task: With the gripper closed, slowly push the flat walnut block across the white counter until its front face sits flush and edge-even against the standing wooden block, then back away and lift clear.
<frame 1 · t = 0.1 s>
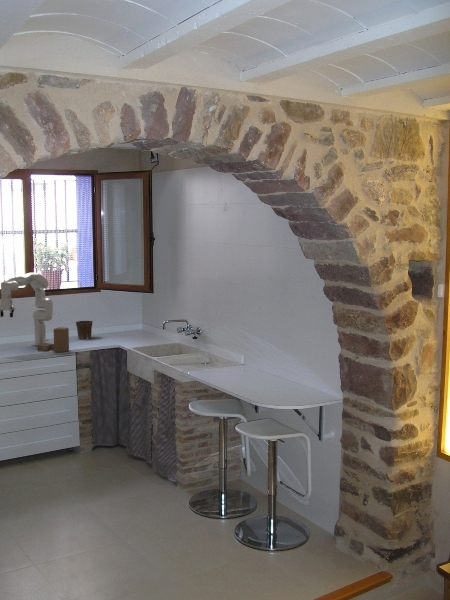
hand: (6, 317, 563), 31 cm above the countertop, tool pointing down, fingers open, 9 cm apart
walnut block: (46, 350, 584), on the countertop
plant pot: (84, 338, 642), on the countertop
wooden block: (61, 351, 579), on the countertop
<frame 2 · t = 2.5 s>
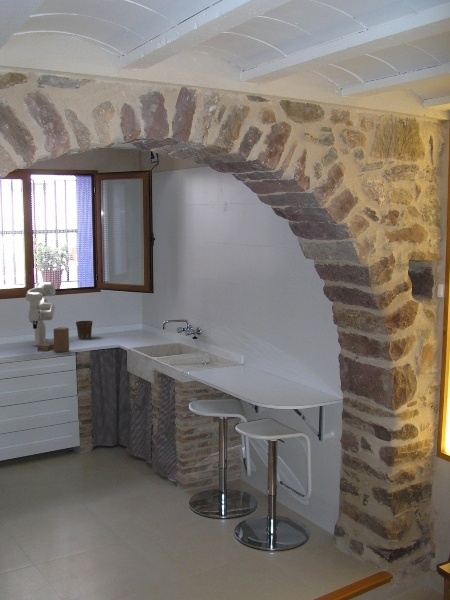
hand: (35, 328, 586), 18 cm above the countertop, tool pointing down, fingers closed
nothing on the countertop moved.
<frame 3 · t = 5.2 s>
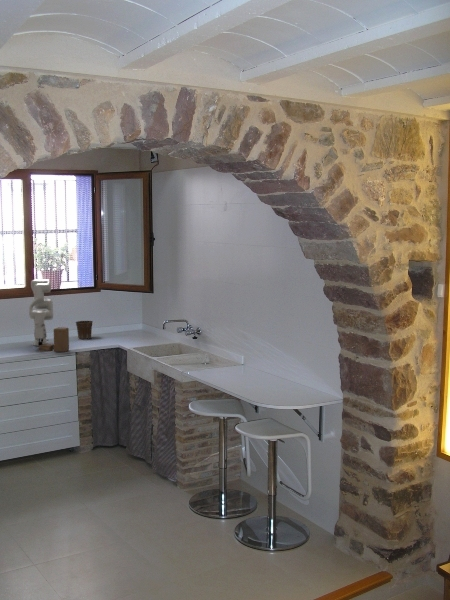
hand: (40, 346, 586), 3 cm above the countertop, tool pointing down, fingers closed
walnut block: (47, 350, 584), on the countertop
everything else where it was.
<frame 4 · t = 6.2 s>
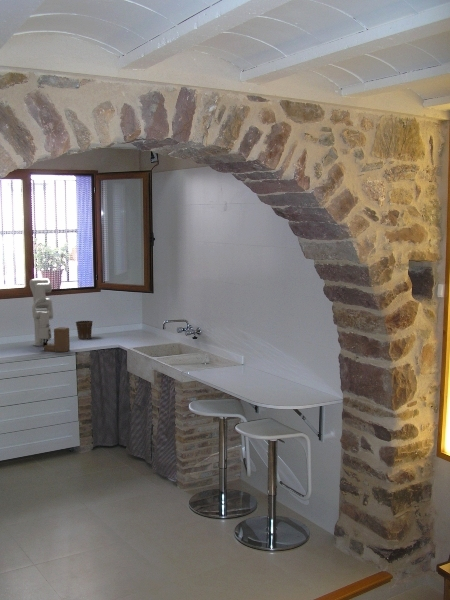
hand: (45, 346, 584), 3 cm above the countertop, tool pointing down, fingers closed
walnut block: (52, 350, 582), on the countertop, touching gripper
everything else where it was.
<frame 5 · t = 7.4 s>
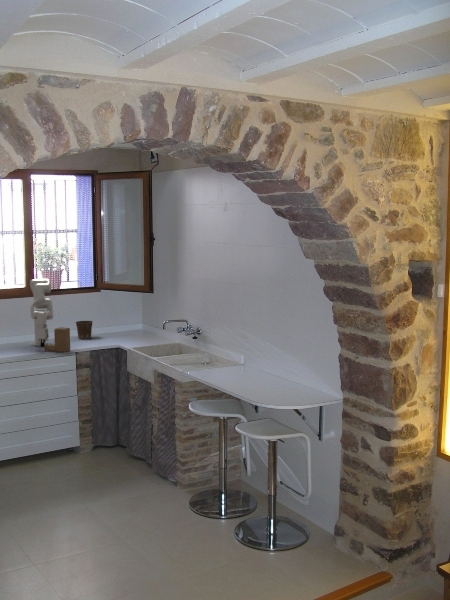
hand: (42, 346, 585), 2 cm above the countertop, tool pointing down, fingers closed
walnut block: (52, 350, 581), on the countertop
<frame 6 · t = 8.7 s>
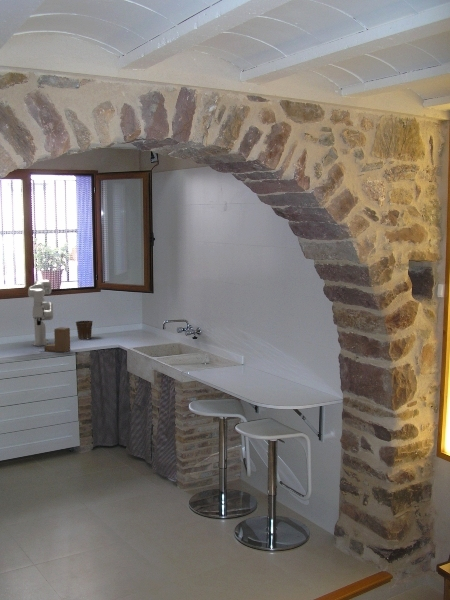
hand: (38, 325, 585), 21 cm above the countertop, tool pointing down, fingers closed
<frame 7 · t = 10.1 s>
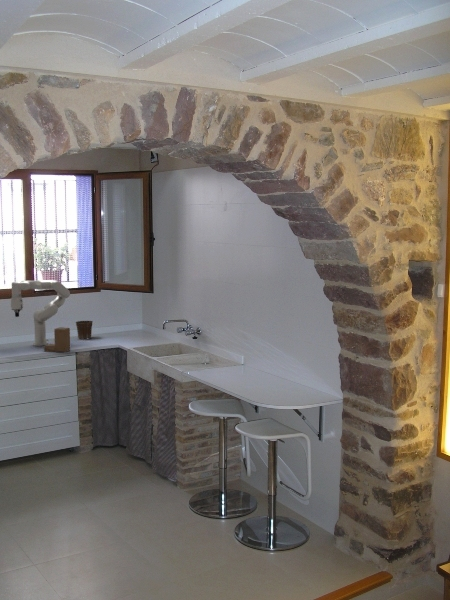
hand: (17, 316, 595), 27 cm above the countertop, tool pointing down, fingers closed
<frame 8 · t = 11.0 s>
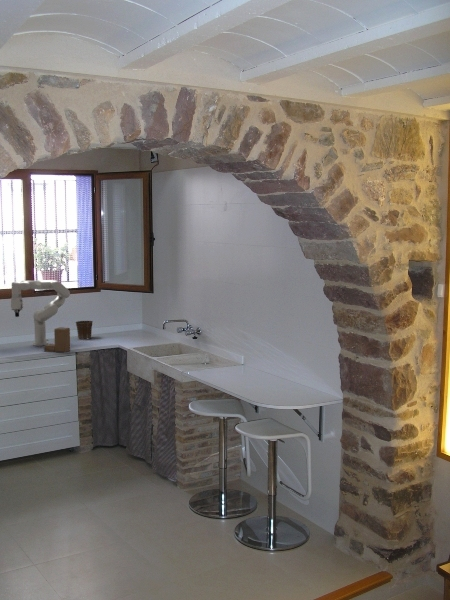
hand: (17, 316, 595), 27 cm above the countertop, tool pointing down, fingers closed
at the end: walnut block 0.3 cm from the target spot on the countertop beside the wooden block, on the countertop; walnut block tilted 0°; wooden block moved 1.1 cm from its start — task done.
